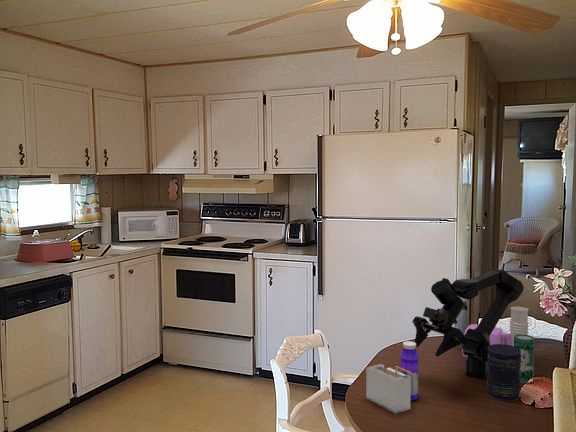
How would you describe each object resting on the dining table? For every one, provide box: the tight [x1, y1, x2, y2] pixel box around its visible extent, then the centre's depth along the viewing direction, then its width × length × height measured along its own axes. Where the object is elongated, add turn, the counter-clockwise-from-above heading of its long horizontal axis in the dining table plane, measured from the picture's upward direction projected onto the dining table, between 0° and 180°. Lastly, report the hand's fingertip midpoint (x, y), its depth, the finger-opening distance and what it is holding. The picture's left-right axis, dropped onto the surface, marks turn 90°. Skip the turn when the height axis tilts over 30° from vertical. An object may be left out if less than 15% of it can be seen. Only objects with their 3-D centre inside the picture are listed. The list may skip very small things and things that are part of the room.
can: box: [514, 334, 536, 385], centre depth 182 cm, size 6×6×15 cm
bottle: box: [399, 340, 420, 401], centre depth 170 cm, size 7×6×17 cm
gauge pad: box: [385, 365, 412, 378], centre depth 167 cm, size 2×11×10 cm, turn 33°
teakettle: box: [455, 323, 513, 359], centre depth 207 cm, size 17×17×12 cm
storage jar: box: [486, 343, 521, 402], centre depth 171 cm, size 10×10×15 cm
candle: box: [509, 306, 530, 346], centre depth 218 cm, size 7×7×15 cm
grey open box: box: [365, 363, 411, 415], centre depth 165 cm, size 6×13×10 cm, turn 33°
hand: (425, 351), depth 173 cm, fingers open, 9 cm apart
